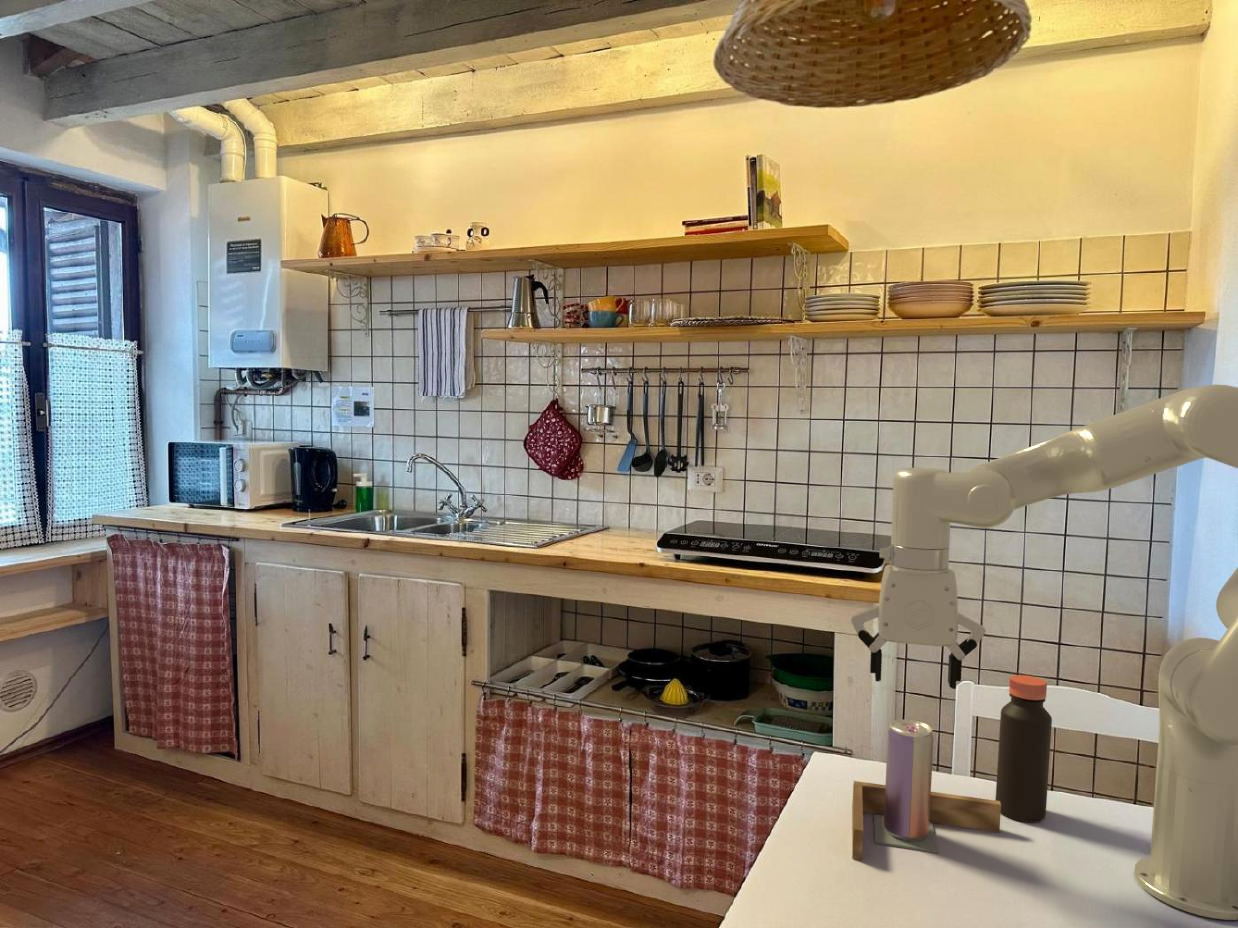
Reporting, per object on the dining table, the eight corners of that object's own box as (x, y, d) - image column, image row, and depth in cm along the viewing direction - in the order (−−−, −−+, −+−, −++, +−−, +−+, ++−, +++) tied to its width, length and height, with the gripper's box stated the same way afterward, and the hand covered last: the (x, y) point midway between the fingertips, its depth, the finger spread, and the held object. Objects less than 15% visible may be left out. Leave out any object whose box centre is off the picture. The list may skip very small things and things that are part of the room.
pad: (932, 825, 120) (932, 823, 120) (937, 853, 113) (937, 850, 113) (873, 816, 122) (873, 814, 122) (875, 843, 115) (875, 841, 115)
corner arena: (998, 828, 120) (999, 800, 120) (1018, 885, 105) (1020, 854, 105) (852, 806, 125) (853, 780, 125) (852, 858, 111) (853, 828, 110)
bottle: (1027, 827, 120) (1035, 690, 119) (985, 807, 126) (993, 676, 125) (1055, 817, 124) (1064, 683, 123) (1013, 798, 130) (1021, 670, 128)
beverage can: (885, 839, 115) (890, 732, 114) (881, 819, 121) (886, 716, 120) (931, 845, 114) (937, 736, 113) (925, 824, 120) (930, 721, 119)
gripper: (853, 559, 114) (849, 684, 115) (992, 567, 109) (986, 697, 110) (853, 550, 121) (849, 668, 122) (983, 558, 116) (978, 680, 117)
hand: (914, 682), depth 116 cm, fingers open, 9 cm apart
